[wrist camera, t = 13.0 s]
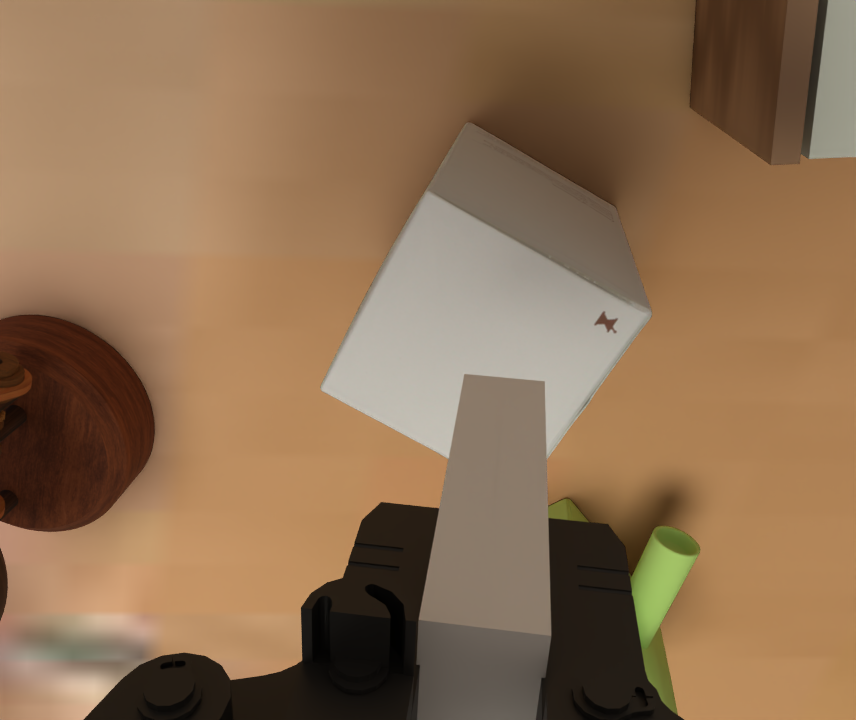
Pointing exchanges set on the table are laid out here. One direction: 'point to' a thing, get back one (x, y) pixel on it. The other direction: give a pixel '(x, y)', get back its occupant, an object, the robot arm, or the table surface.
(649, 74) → the table surface
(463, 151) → the supplement box
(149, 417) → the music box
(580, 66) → the table surface
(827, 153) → the lid
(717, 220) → the table surface
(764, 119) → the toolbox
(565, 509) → the green square kettle
